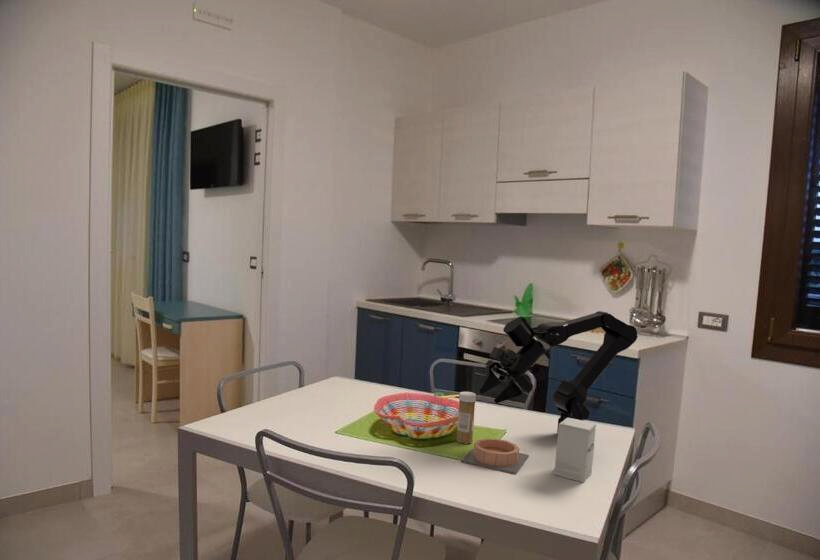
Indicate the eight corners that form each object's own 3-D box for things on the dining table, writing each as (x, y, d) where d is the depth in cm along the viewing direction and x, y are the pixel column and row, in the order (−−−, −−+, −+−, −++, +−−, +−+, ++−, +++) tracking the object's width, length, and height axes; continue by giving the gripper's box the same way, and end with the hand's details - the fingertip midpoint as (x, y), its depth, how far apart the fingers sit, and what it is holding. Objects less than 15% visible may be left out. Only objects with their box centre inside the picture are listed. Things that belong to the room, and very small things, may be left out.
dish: (529, 456, 149) (530, 443, 149) (516, 474, 137) (517, 460, 136) (477, 445, 155) (478, 433, 155) (460, 461, 142) (461, 448, 142)
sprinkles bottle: (476, 442, 158) (479, 394, 157) (465, 445, 154) (468, 396, 154) (463, 437, 161) (466, 390, 160) (452, 440, 158) (456, 392, 157)
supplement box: (584, 483, 134) (589, 430, 133) (553, 474, 138) (557, 423, 137) (592, 473, 140) (597, 422, 140) (562, 466, 144) (566, 416, 144)
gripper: (493, 332, 168) (456, 369, 165) (526, 343, 151) (485, 385, 148) (515, 359, 171) (478, 396, 168) (550, 373, 154) (510, 415, 151)
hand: (487, 397), depth 159 cm, fingers open, 9 cm apart
